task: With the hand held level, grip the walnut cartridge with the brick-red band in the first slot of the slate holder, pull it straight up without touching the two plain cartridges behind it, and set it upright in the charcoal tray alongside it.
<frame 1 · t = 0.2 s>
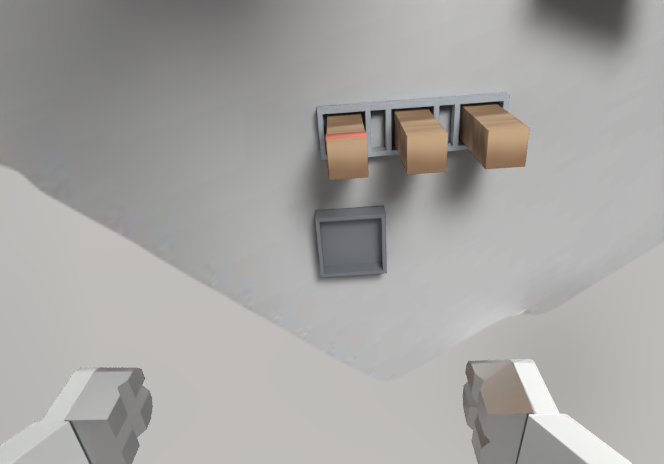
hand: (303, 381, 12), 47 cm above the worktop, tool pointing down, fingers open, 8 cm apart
plain cartridge 1: (476, 120, 56), resting in holder
tray: (351, 237, 64), on the worktop
plain cartridge 2: (418, 138, 52), in the holder
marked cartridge: (344, 130, 57), resting in holder
holder: (410, 125, 57), on the worktop
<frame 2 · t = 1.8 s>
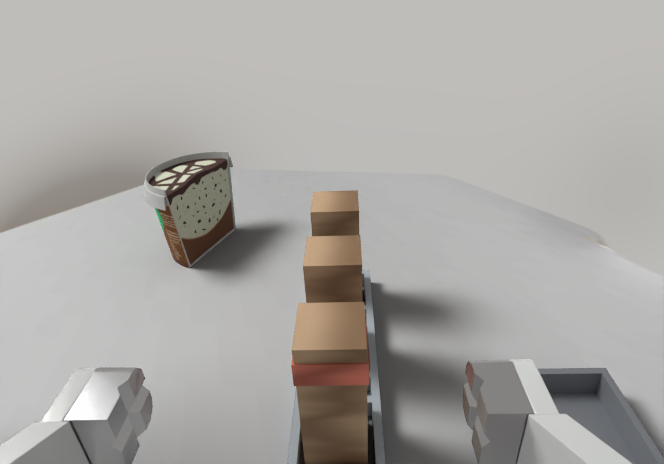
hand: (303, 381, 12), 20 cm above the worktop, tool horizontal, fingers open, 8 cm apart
plain cartridge 1: (339, 301, 46), resting in holder
food container: (193, 244, 57), on the worktop
tray: (560, 445, 31), on the worktop
plain cartridge 2: (336, 309, 36), in the holder
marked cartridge: (337, 447, 32), resting in holder
holder: (338, 361, 39), on the worktop
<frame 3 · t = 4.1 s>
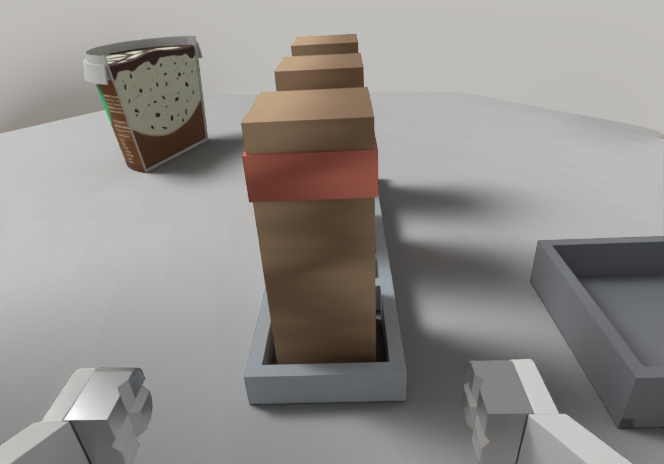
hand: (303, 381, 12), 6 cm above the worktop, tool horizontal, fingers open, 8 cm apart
plain cartridge 1: (334, 196, 35), resting in holder
food container: (155, 154, 46), on the worktop
plain cartridge 2: (327, 167, 25), in the holder
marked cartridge: (329, 347, 21), resting in holder
holder: (332, 252, 28), on the worktop
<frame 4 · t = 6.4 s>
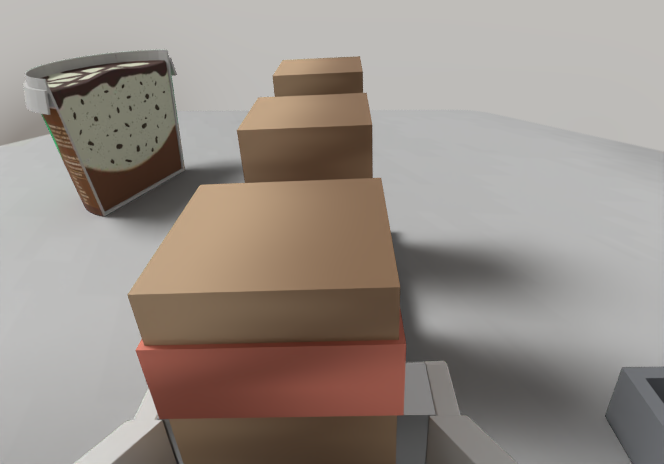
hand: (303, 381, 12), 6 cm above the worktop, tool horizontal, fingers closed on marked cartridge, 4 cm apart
plain cartridge 1: (330, 257, 28), resting in holder
food container: (120, 189, 39), on the worktop
plain cartridge 2: (318, 250, 18), in the holder
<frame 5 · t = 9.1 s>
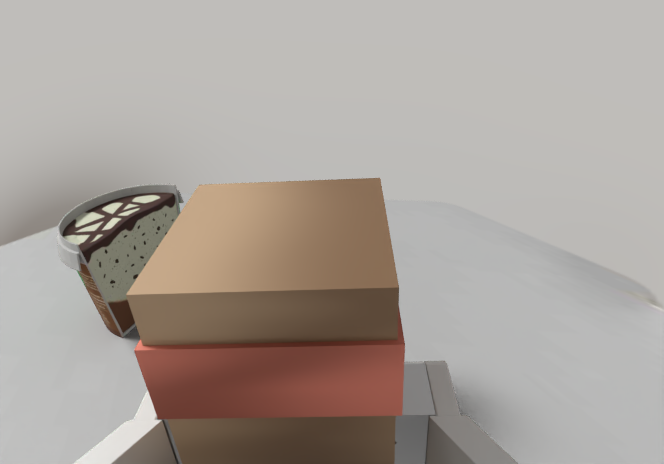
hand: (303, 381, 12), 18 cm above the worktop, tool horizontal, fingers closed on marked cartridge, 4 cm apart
food container: (134, 300, 45), on the worktop
when the fingers open (8 cm above the worktop, at t = 12.3 s): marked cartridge drops 1 cm, resting on tray.
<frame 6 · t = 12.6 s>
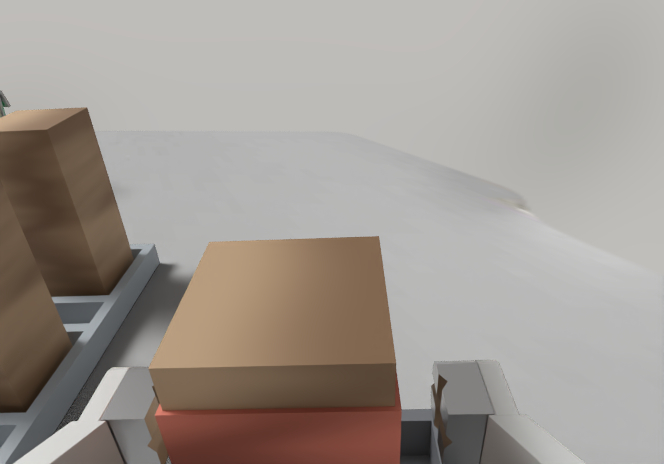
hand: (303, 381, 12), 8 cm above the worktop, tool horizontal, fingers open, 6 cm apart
plain cartridge 1: (94, 291, 29), resting in holder
holder: (17, 391, 22), on the worktop
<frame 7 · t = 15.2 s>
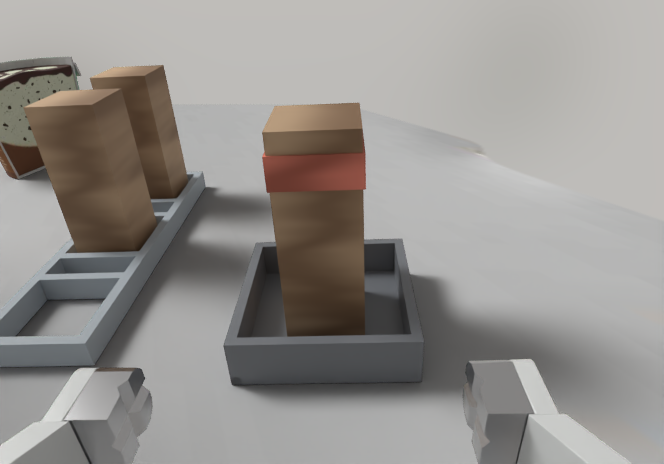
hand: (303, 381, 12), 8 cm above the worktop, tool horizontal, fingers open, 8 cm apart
plain cartridge 1: (161, 202, 41), resting in holder
food container: (38, 161, 52), on the worktop
tray: (328, 320, 26), on the worktop
plain cartridge 2: (101, 181, 31), in the holder
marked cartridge: (327, 313, 26), resting on tray
holder: (123, 251, 34), on the worktop
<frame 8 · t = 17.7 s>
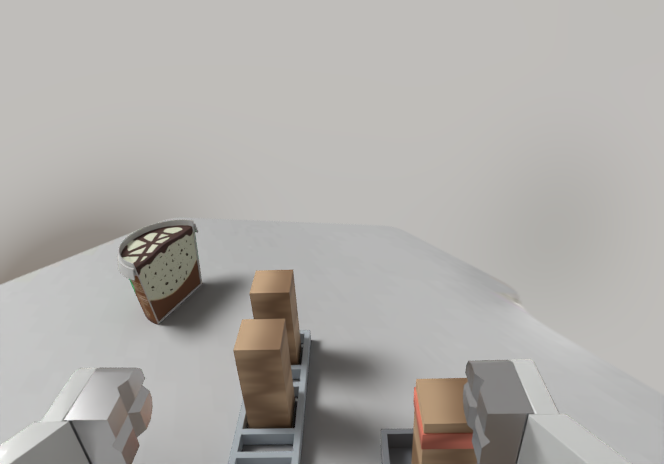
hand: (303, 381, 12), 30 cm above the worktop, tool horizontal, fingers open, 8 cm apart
plain cartridge 1: (282, 358, 54), resting in holder
food container: (164, 299, 65), on the worktop
plain cartridge 2: (267, 378, 44), in the holder
holder: (273, 416, 47), on the worktop
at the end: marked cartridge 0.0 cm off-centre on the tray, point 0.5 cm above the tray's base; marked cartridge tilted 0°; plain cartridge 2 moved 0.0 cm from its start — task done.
